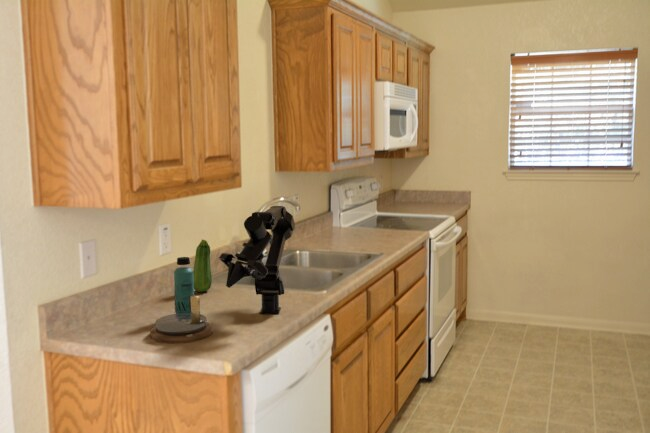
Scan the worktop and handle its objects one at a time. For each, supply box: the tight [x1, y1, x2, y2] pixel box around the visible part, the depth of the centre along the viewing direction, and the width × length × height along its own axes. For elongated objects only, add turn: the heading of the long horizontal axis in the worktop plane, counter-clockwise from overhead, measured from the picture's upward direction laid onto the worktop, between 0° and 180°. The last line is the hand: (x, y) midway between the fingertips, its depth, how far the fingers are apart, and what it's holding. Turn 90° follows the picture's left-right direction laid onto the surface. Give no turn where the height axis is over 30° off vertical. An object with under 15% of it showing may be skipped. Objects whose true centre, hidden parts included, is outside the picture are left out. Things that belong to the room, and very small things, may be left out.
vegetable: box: [193, 238, 213, 293], centre depth 253 cm, size 7×7×20 cm
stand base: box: [150, 322, 213, 344], centre depth 203 cm, size 18×18×2 cm
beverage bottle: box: [173, 256, 196, 314], centre depth 218 cm, size 6×7×20 cm
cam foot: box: [154, 294, 208, 335], centre depth 202 cm, size 15×15×10 cm
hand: (227, 286), depth 206 cm, fingers closed
